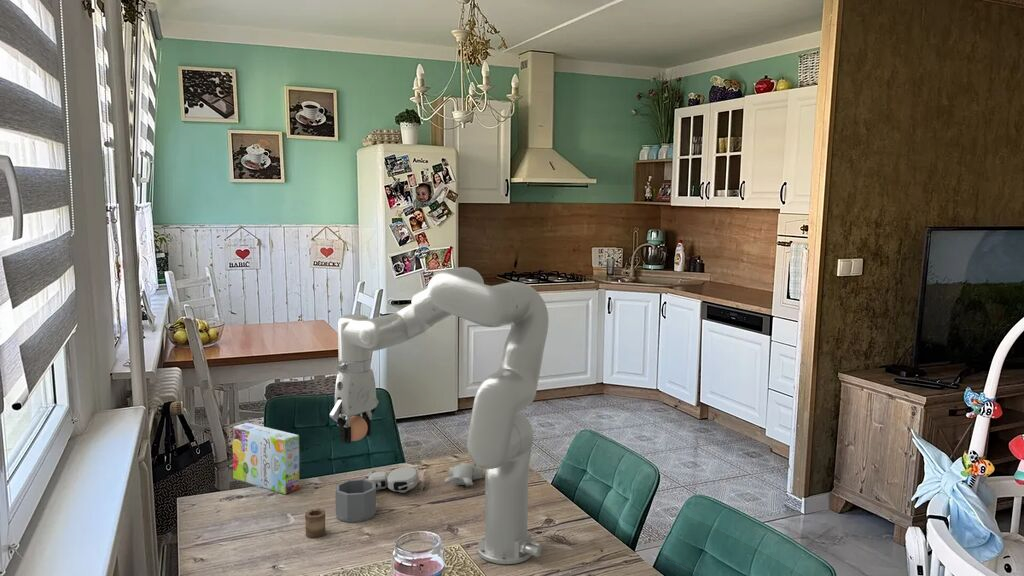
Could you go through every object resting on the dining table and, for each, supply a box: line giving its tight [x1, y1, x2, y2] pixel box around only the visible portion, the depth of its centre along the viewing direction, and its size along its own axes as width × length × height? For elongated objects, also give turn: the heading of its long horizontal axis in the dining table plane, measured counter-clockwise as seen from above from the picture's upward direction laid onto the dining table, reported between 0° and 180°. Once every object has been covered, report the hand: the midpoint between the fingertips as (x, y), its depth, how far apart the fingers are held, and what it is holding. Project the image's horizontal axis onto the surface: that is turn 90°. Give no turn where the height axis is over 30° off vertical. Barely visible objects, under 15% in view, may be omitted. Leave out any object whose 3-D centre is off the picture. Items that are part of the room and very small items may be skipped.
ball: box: [348, 415, 368, 442], centre depth 173 cm, size 6×6×6 cm
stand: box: [304, 508, 326, 539], centre depth 165 cm, size 4×4×5 cm
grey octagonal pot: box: [335, 478, 377, 523], centre depth 175 cm, size 10×10×7 cm
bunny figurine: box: [443, 462, 484, 487], centre depth 196 cm, size 10×5×15 cm
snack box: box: [231, 422, 300, 495], centre depth 193 cm, size 21×6×15 cm, turn 59°
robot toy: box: [363, 465, 420, 494], centre depth 192 cm, size 12×4×15 cm
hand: (355, 437), depth 174 cm, fingers closed on ball, 6 cm apart
